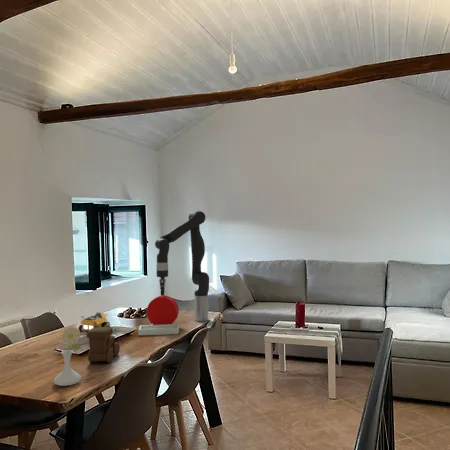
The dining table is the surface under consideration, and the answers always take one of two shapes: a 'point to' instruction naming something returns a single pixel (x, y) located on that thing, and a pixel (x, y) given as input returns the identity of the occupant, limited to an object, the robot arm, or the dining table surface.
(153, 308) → the toy clock
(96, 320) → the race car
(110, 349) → the wooden toy train
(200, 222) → the robot arm
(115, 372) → the dining table surface
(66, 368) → the flower in vase
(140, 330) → the tray
